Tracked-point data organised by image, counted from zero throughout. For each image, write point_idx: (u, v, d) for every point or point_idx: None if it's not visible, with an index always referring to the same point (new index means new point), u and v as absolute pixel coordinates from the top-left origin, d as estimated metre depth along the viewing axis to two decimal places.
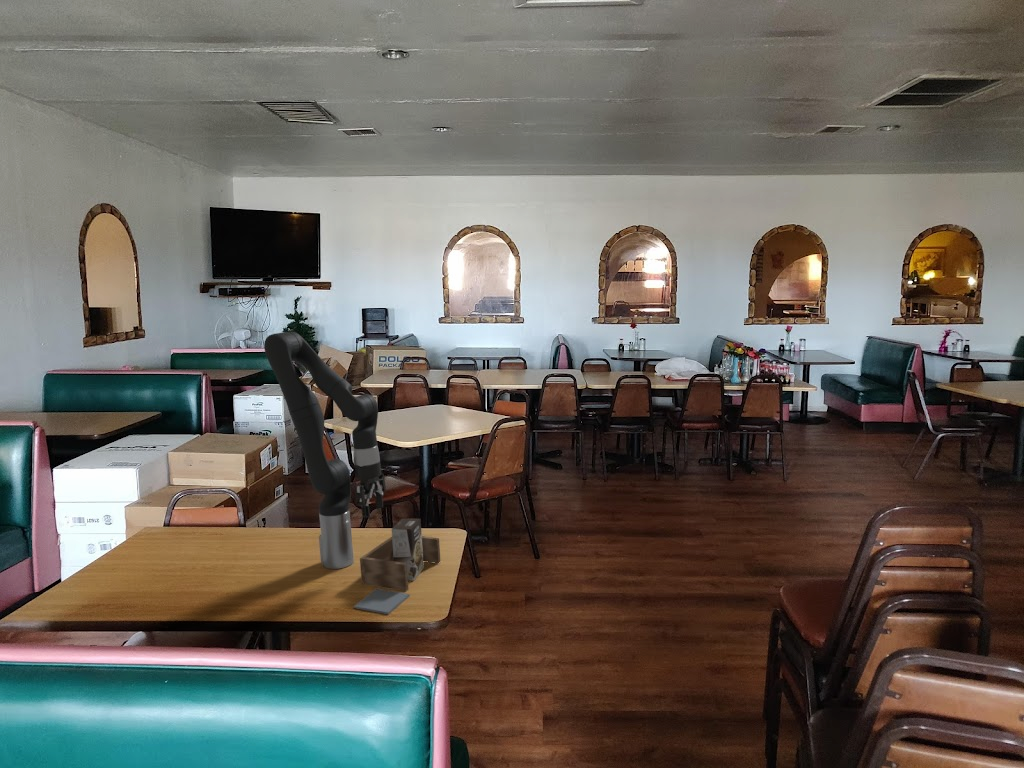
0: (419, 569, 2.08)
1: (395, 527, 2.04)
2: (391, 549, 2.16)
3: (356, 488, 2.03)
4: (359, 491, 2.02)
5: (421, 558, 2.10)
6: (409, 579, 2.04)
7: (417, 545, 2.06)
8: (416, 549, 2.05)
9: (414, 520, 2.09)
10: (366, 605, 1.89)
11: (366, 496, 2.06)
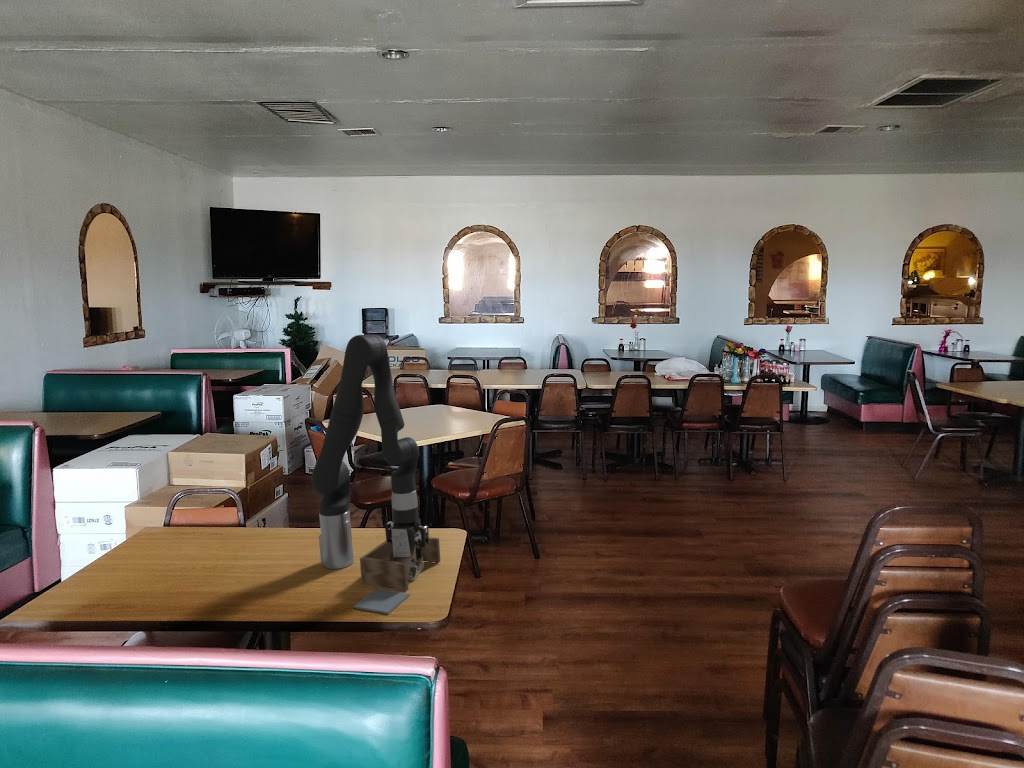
0: (419, 569, 2.08)
1: (395, 527, 2.04)
2: (391, 549, 2.16)
3: (425, 529, 2.03)
4: (427, 531, 2.04)
5: (421, 558, 2.10)
6: (409, 579, 2.04)
7: None
8: None
9: None
10: (366, 605, 1.89)
11: (418, 537, 2.06)
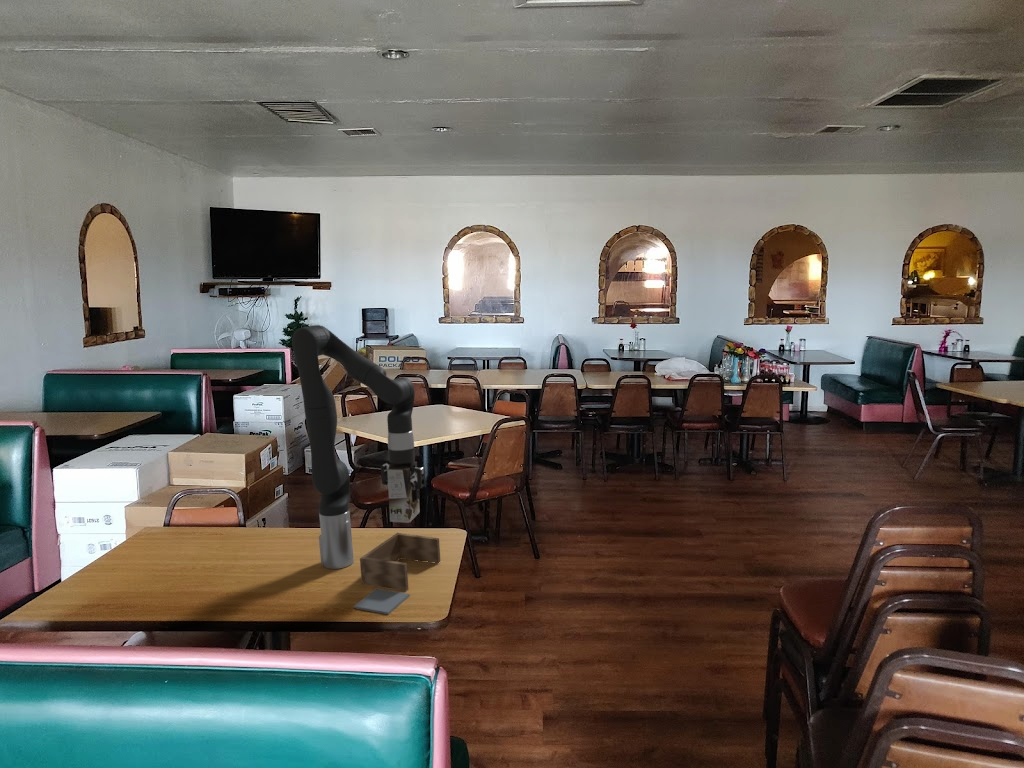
0: (415, 512, 2.05)
1: (391, 468, 2.01)
2: (391, 549, 2.16)
3: (421, 470, 2.00)
4: (423, 472, 2.01)
5: (417, 501, 2.07)
6: (404, 521, 2.01)
7: None
8: None
9: None
10: (366, 605, 1.89)
11: (415, 479, 2.03)
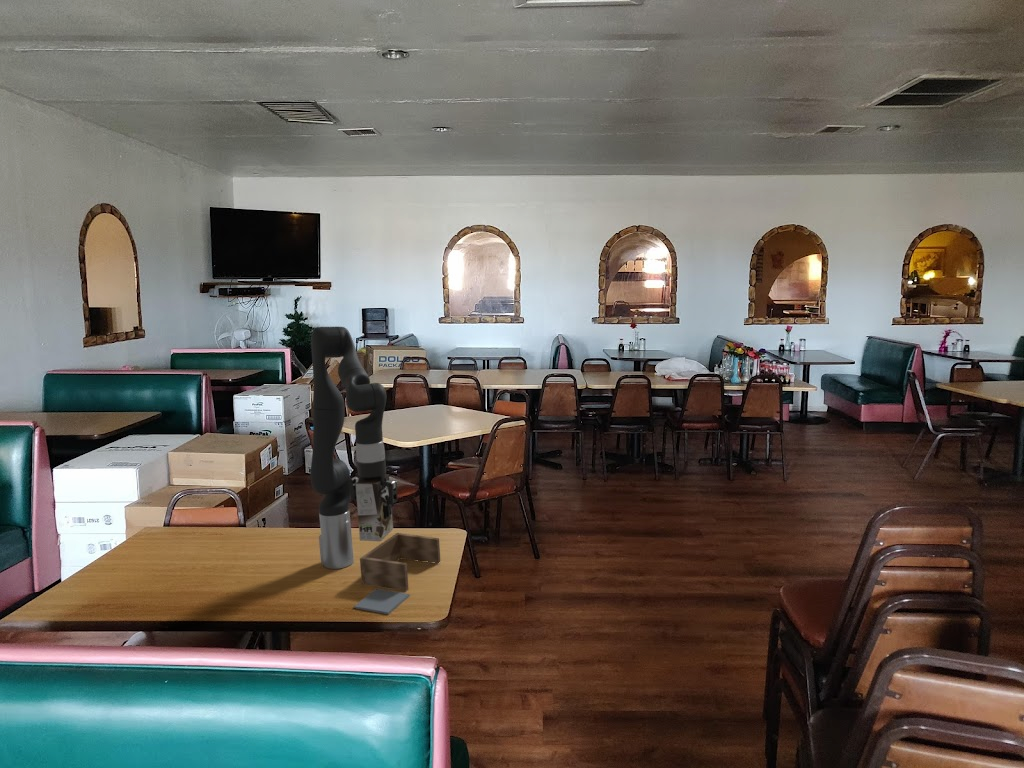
0: (387, 529, 1.88)
1: (360, 482, 1.84)
2: (391, 549, 2.16)
3: (393, 484, 1.83)
4: (395, 486, 1.84)
5: (390, 518, 1.90)
6: (375, 540, 1.84)
7: None
8: None
9: None
10: (366, 605, 1.89)
11: (386, 493, 1.86)
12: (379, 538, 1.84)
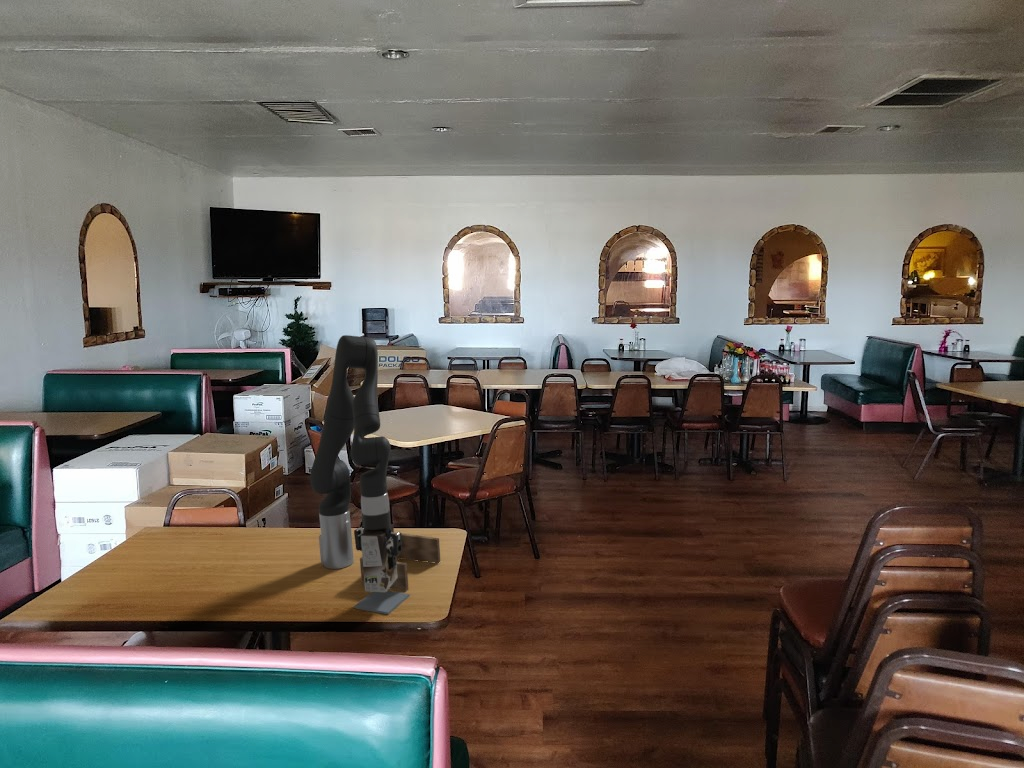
0: (392, 579, 1.91)
1: (365, 534, 1.86)
2: None
3: (397, 536, 1.86)
4: (399, 538, 1.87)
5: None
6: (380, 590, 1.86)
7: None
8: None
9: None
10: (366, 605, 1.89)
11: (391, 544, 1.88)
12: (384, 589, 1.86)
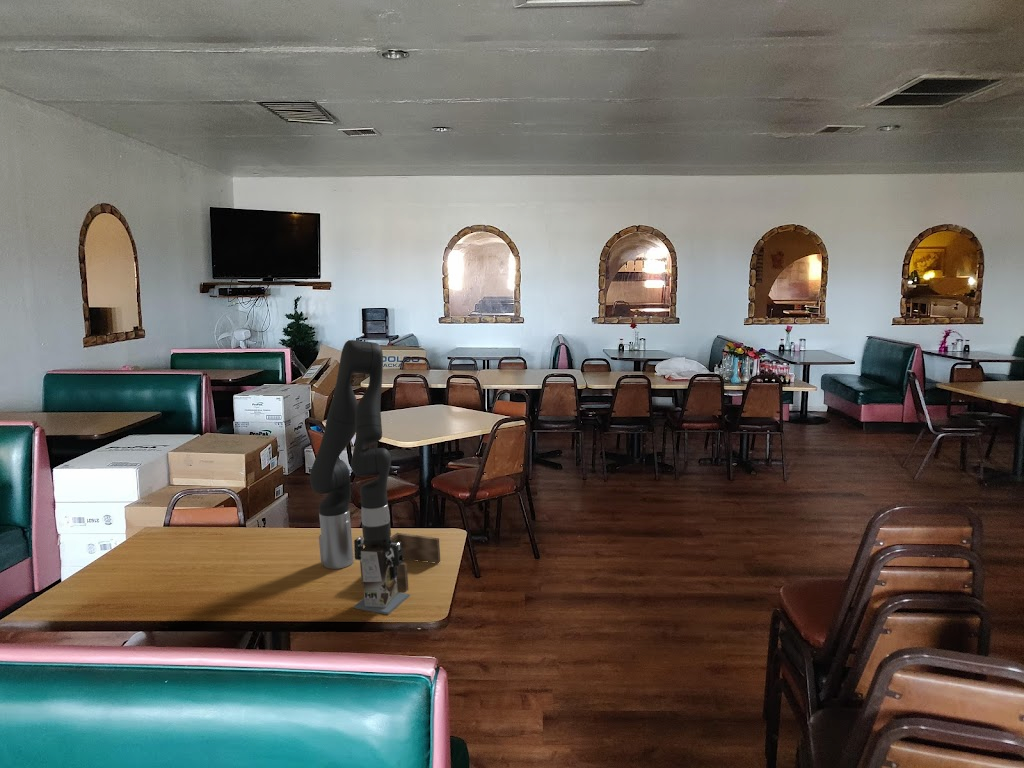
0: (392, 594, 1.91)
1: (365, 549, 1.87)
2: None
3: (397, 546, 1.86)
4: (400, 548, 1.87)
5: (394, 582, 1.93)
6: (380, 606, 1.87)
7: None
8: (388, 573, 1.88)
9: None
10: None
11: (392, 555, 1.89)
12: (384, 604, 1.87)
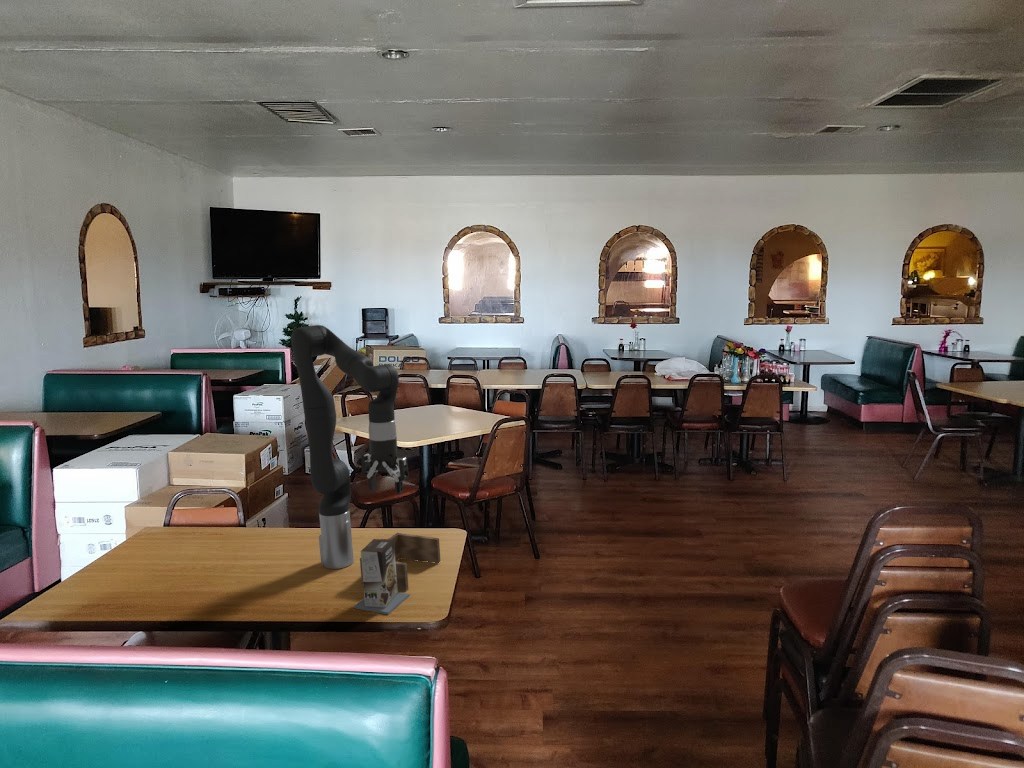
0: (392, 594, 1.91)
1: (365, 549, 1.87)
2: None
3: (403, 461, 1.90)
4: (405, 463, 1.91)
5: (394, 582, 1.93)
6: (380, 606, 1.87)
7: (389, 569, 1.89)
8: (388, 572, 1.88)
9: (387, 541, 1.92)
10: None
11: (397, 470, 1.93)
12: (384, 604, 1.87)
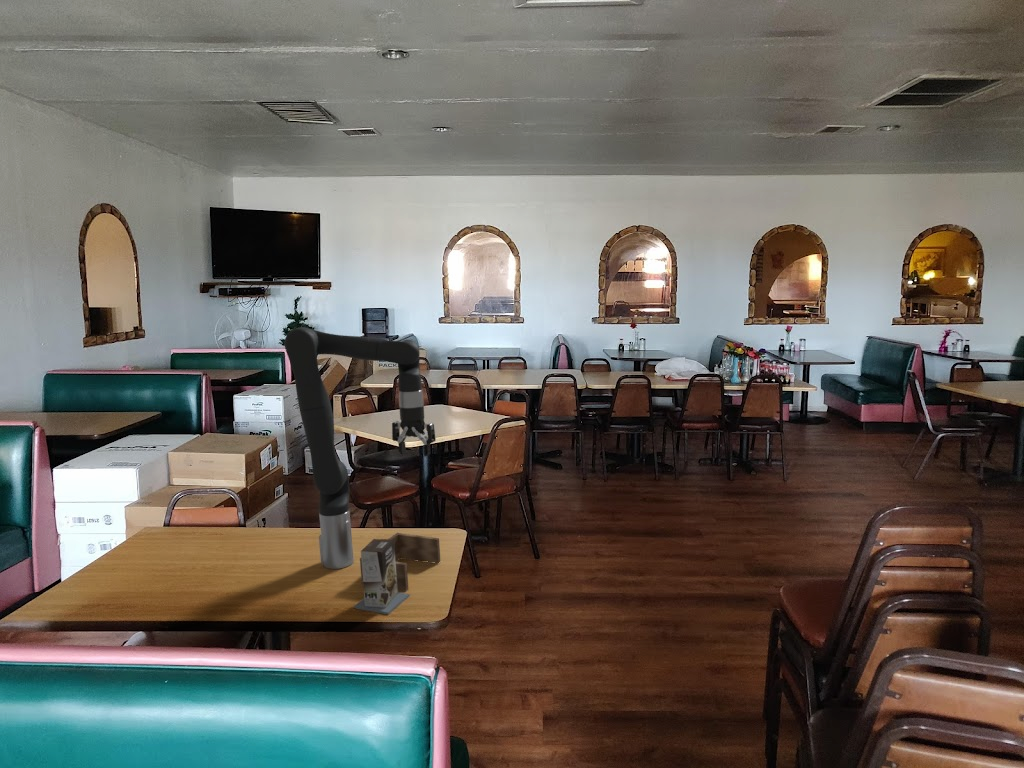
0: (392, 594, 1.91)
1: (365, 549, 1.87)
2: None
3: (430, 426, 2.13)
4: (432, 428, 2.14)
5: (394, 582, 1.93)
6: (380, 606, 1.87)
7: (389, 569, 1.89)
8: (388, 572, 1.88)
9: (387, 541, 1.92)
10: None
11: (425, 435, 2.16)
12: (384, 604, 1.87)
